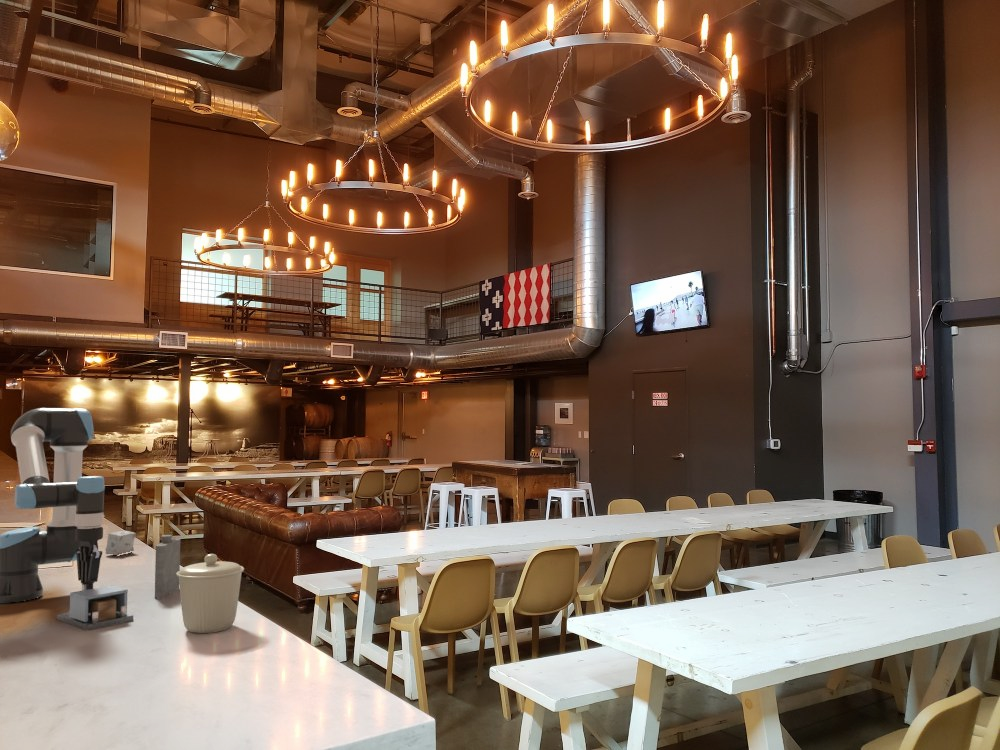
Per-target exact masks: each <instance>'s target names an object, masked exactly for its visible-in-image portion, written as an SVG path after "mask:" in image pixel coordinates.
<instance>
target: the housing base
mask: <svg viewBox="0 0 1000 750" xmlns="http://www.w3.org/2000/svg"><path fill="white" fill-rule="evenodd" d="M126 611H127V613H126ZM98 616H99V611H94V612H92V618H91V613H89V614H88V621H87V622H83V621H81V620H78V619H75V618H72V617H70V611H68V612H64V613H59V614H57V616H56V617H57V620H58V621H60V622H63V623H66V624H69V625H72V626H74V627H77V628H79V629H82V630H85V631H90V630H91V629H92V630H96V629H100V628H106V627H109V626H115V625H118V624H123V623H127V622H132V621H134V614H130V613H128V605H127V606H121V610H120V612H117V611H116V617H114V618H109V619H104V620H99V621H98ZM114 624H115V625H114ZM105 626H106V627H105ZM95 628H96V629H95ZM92 630H91V631H92Z"/></svg>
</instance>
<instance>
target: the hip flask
mask: <svg viewBox="0 0 1000 750" xmlns="http://www.w3.org/2000/svg"><path fill="white" fill-rule="evenodd" d="M160 539H161V542H160V543H158V544H155V565H154V567H155V570H154V599H156V598H160V599H164V598H166V597H167V596H168V595H169V594H171V593H173V592H175V591H177V589H178V590H180V585H179V577H178V576H177V575H176V573H177V572H178V571H180V570H181V567H180V566H181V538H173V535H172V534H163V535H160ZM174 590H175V591H174ZM172 591H173V592H172ZM170 592H171V593H170ZM167 594H168V595H167ZM163 597H164V598H163Z"/></svg>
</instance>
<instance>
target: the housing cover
mask: <svg viewBox="0 0 1000 750" xmlns="http://www.w3.org/2000/svg"><path fill="white" fill-rule="evenodd" d="M128 592H129V591H128V589H126V588H123V587H120V586H116V585H107V586H101V587H100V586H99V587H95V588H94V587H93V589H88V590H83V591H82V590H77V591H73V592H72V591H71V592H69V593H70V595H69V612H70V617H72V618H75V619H78V620H81V621H83V622H87V621H88V614H89V613H91V601H93V600H98V599H104V598H112V599H115V600H116V611H117V612H120V610H121V606H127V607H128ZM126 613H127V614H128V610H127V611H126Z"/></svg>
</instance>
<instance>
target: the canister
mask: <svg viewBox="0 0 1000 750" xmlns="http://www.w3.org/2000/svg"><path fill="white" fill-rule="evenodd" d="M244 571H245V568H244V566H243V565H240V564H238V563H237V562H233V561H218V556H217V554H215V553H209V554H206V555H205V556H204V560H203V562H198V563H193V564H192V563H191V564H189V565H187V566H184V567H183V568H182V567H181V568H180V571H178V572H177V573H176V575H177V576H178V577H179V594H180V595H179V596H180V604H181V615H182V622H183V627H184V628H185V629H186V630H187V631H188V632H190V633H193V634H194V633H195V634H211V633H217V632H221V630H222V631H224V630H227V629H229V628H230V627H232V626H233V624H234V622H235V621H236V620H235V619H236V616H237V610H238V603H239V597H240V588H241V581H242V573H243V572H244Z"/></svg>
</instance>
